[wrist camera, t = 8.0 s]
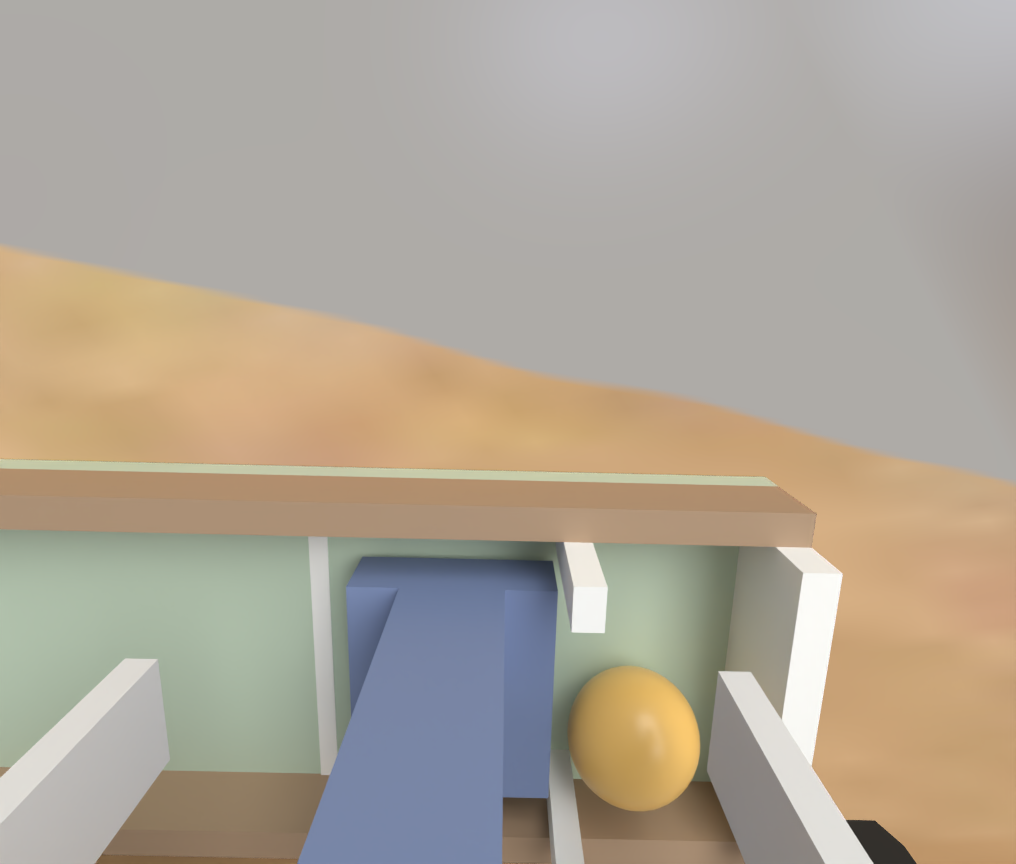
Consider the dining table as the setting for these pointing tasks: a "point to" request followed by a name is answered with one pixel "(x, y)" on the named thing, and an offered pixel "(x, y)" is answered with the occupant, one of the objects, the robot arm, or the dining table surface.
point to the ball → (633, 738)
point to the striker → (439, 710)
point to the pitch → (324, 632)
